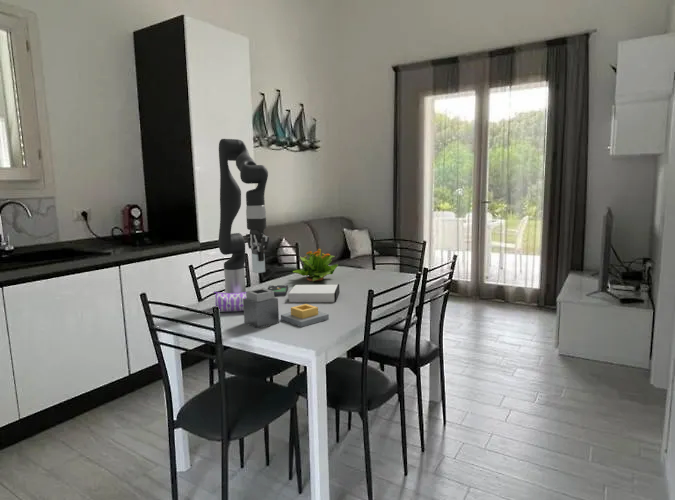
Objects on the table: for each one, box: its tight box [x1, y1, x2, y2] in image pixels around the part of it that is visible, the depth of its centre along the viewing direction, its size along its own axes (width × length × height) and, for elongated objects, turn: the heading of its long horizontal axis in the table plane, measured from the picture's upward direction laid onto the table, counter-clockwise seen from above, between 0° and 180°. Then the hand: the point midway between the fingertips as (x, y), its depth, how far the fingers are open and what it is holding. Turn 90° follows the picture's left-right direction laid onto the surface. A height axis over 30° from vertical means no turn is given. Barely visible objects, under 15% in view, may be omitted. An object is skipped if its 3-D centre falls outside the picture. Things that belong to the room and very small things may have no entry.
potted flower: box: [292, 248, 339, 283], centre depth 261 cm, size 25×24×18 cm
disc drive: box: [288, 283, 341, 303], centre depth 221 cm, size 18×22×5 cm
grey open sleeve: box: [243, 287, 280, 329], centre depth 182 cm, size 10×10×13 cm
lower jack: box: [280, 303, 330, 328], centre depth 186 cm, size 14×14×5 cm
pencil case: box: [213, 290, 247, 313], centre depth 201 cm, size 22×9×10 cm, turn 103°
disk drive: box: [267, 284, 289, 297], centre depth 233 cm, size 10×3×15 cm
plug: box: [251, 249, 266, 274], centre depth 179 cm, size 4×4×9 cm
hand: (258, 260), depth 179 cm, fingers closed on plug, 3 cm apart
